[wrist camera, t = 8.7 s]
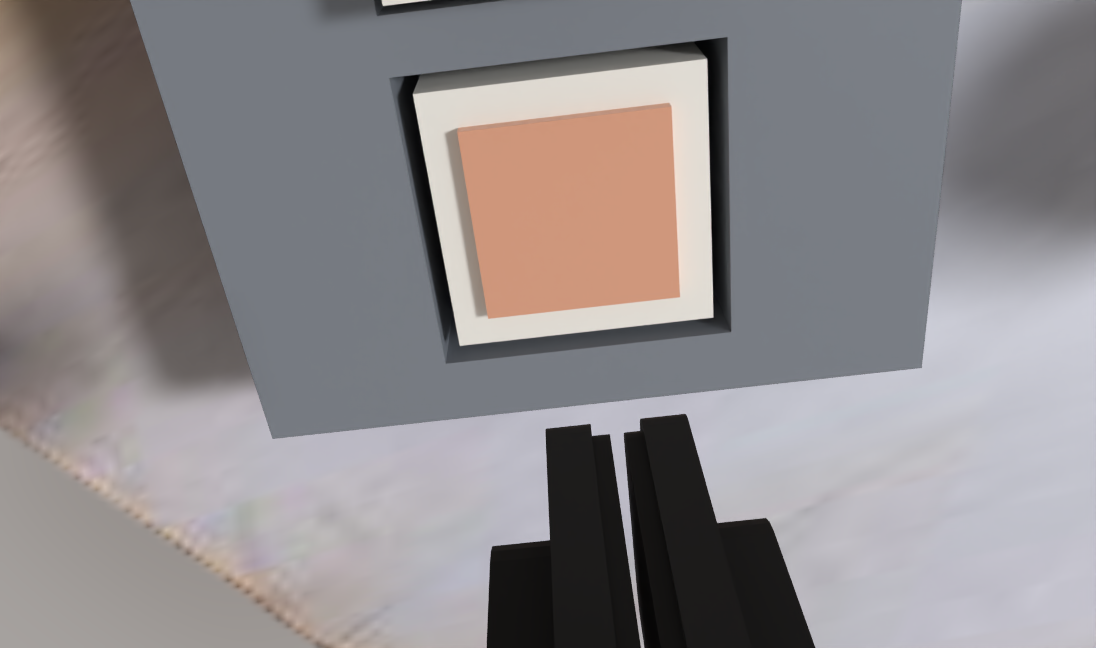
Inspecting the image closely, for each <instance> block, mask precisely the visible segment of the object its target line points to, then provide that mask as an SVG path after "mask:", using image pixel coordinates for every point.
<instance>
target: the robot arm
mask: <svg viewBox="0 0 1096 648" xmlns="http://www.w3.org/2000/svg"><path fill="white" fill-rule="evenodd" d="M624 443H625V455H626V467H627V478H628V490H629V501H630V513H631V525H632V536H633V548H634V559H635V571H636V583H637V594H638V603H639V612H640V620H641V627H642V633H643V640H644V647H645V648H815V646H814V643H813V640H812V637H811V634H810V632H809V629H808V626H807V623H806V620H805V618H804V615H803V612H802V609H801V606H800V603H799V601H798V598H797V595H796V592H795V589H794V587H793V584H792V581H791V578H790V575H789V573H788V570H787V567H786V564H785V561H784V559H783V556H782V553H781V550H780V547H779V544H778V542H777V539H776V536H775V533H774V531H773V529H772V526H771V524H770V522H769V521H768V520H767V519H766V518H763V519H753V520H743V521H734V522H724V523H717V521H716V518H715V514H714V511H713V507H712V504H711V500H710V496H709V493H708V489H707V486H706V482H705V478H704V475H703V471H702V468H701V464H700V461H699V457H698V453H697V450H696V446H695V443H694V439H693V436H692V432H691V428H690V425H689V421H688V418H687V416H686V414H680V415H671V416H662V417H652V418H643V419H640V431H636V432H627V433H624ZM546 453H547V477H548V501H549V525H550V540H549V541H540V542H530V543H520V544H511V545H501V546H493V547H492V550H491V558H490V579H489V604H488V629H487V648H641V646H640V639H639V632H638V625H637V618H636V611H635V604H634V598H633V591H632V584H631V577H630V570H629V563H628V556H627V550H626V543H625V536H624V529H623V522H622V515H621V508H620V502H619V495H618V488H617V481H616V474H615V467H614V460H613V453H612V447H611V440H610V434H608V435H598V436H592V434H591V425H590V424H587V425H578V426H568V427H559V428H550V429H546Z"/></svg>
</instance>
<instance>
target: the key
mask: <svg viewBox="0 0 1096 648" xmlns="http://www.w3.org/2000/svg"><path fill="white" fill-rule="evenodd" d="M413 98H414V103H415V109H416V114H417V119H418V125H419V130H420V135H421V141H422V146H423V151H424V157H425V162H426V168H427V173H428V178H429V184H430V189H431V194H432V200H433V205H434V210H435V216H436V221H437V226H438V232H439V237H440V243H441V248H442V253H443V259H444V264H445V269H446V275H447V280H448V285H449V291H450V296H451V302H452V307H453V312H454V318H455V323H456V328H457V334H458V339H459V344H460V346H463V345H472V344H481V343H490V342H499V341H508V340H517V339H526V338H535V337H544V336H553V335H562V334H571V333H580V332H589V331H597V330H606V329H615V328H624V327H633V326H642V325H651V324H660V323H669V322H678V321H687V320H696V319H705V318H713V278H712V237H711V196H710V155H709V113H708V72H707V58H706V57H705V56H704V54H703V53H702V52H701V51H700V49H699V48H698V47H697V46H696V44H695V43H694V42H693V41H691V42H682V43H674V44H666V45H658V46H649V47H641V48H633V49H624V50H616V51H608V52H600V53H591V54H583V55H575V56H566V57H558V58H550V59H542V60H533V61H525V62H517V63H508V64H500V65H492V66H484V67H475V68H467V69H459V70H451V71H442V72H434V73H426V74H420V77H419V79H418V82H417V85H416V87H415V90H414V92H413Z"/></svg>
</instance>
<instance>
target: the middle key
mask: <svg viewBox="0 0 1096 648" xmlns="http://www.w3.org/2000/svg"><path fill="white" fill-rule="evenodd" d="M419 1H427V0H382V4H383V6H387V5H395V4H403V3H411V2H419Z"/></svg>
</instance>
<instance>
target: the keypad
mask: <svg viewBox="0 0 1096 648" xmlns="http://www.w3.org/2000/svg"><path fill="white" fill-rule="evenodd" d="M130 2H131V5H132V8H133V11H134V14H135V17H136V20H137V23H138V27H139V30H140V33H141V36H142V39H143V42H144V45H145V48H146V51H147V54H148V57H149V60H150V63H151V66H152V70H153V73H154V76H155V79H156V82H157V85H158V88H159V91H160V94H161V97H162V100H163V103H164V106H165V109H166V113H167V116H168V119H169V122H170V125H171V128H172V131H173V134H174V137H175V140H176V143H177V146H178V149H179V153H180V156H181V159H182V162H183V165H184V168H185V171H186V174H187V177H188V180H189V183H190V186H191V189H192V192H193V196H194V199H195V202H196V205H197V208H198V211H199V214H200V217H201V220H202V223H203V226H204V229H205V232H206V235H207V239H208V242H209V245H210V248H211V251H212V254H213V257H214V260H215V263H216V266H217V269H218V272H219V275H220V279H221V282H222V285H223V288H224V291H225V294H226V297H227V300H228V303H229V306H230V309H231V312H232V315H233V318H234V322H235V325H236V328H237V331H238V334H239V337H240V340H241V343H242V346H243V349H244V352H245V355H246V358H247V362H248V365H249V368H250V371H251V374H252V377H253V380H254V383H255V386H256V389H257V392H258V395H259V398H260V401H261V405H262V408H263V411H264V414H265V417H266V420H267V423H268V426H269V429H270V432H271V435H272V438H273V439H276V438H285V437H294V436H303V435H312V434H321V433H331V432H340V431H349V430H358V429H367V428H376V427H385V426H395V425H404V424H413V423H422V422H431V421H440V420H449V419H458V418H468V417H477V416H486V415H495V414H504V413H513V412H522V411H532V410H541V409H550V408H559V407H568V406H577V405H586V404H596V403H605V402H614V401H623V400H632V399H641V398H650V397H660V396H669V395H678V394H687V393H696V392H705V391H714V390H724V389H733V388H742V387H751V386H760V385H769V384H778V383H787V382H797V381H806V380H815V379H824V378H833V377H842V376H851V375H861V374H870V373H879V372H888V371H897V370H906V369H915V368H922V359H923V350H924V341H925V332H926V323H927V314H928V304H929V295H930V286H931V277H932V268H933V259H934V250H935V241H936V231H937V222H938V213H939V204H940V195H941V186H942V177H943V168H944V159H945V149H946V140H947V131H948V122H949V113H950V104H951V95H952V86H953V77H954V67H955V58H956V49H957V40H958V31H959V22H960V13H961V4H962V0H427V1H419V2H411V3H403V4H395V5H387V6H383V4H382V0H130ZM691 41H693V42H694V43H695V44H696V46H697V47H698V48H699V49H700V51H701V52H702V53H703V54H704V56H705V57H706V58H707V72H708V113H709V155H710V196H711V237H712V278H713V318H705V319H696V320H687V321H678V322H669V323H660V324H651V325H642V326H633V327H624V328H615V329H606V330H597V331H589V332H580V333H571V334H562V335H553V336H544V337H535V338H526V339H517V340H508V341H499V342H490V343H481V344H472V345H463V346H460V344H459V339H458V334H457V328H456V323H455V318H454V312H453V307H452V302H451V296H450V291H449V285H448V280H447V275H446V269H445V264H444V259H443V253H442V248H441V243H440V237H439V232H438V226H437V221H436V216H435V210H434V205H433V200H432V194H431V189H430V184H429V178H428V173H427V168H426V162H425V157H424V151H423V146H422V141H421V135H420V130H419V125H418V119H417V114H416V109H415V103H414V98H413V92H414V90H415V87H416V85H417V82H418V79H419V77H420V74H426V73H434V72H442V71H451V70H459V69H467V68H475V67H484V66H492V65H500V64H508V63H517V62H525V61H533V60H542V59H550V58H558V57H566V56H575V55H583V54H591V53H600V52H608V51H616V50H624V49H633V48H641V47H649V46H658V45H666V44H674V43H682V42H691Z"/></svg>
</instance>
